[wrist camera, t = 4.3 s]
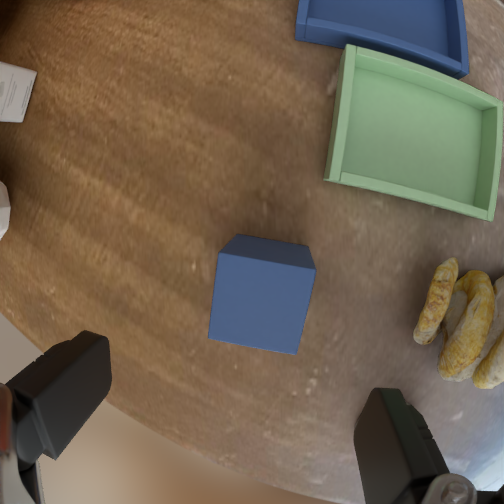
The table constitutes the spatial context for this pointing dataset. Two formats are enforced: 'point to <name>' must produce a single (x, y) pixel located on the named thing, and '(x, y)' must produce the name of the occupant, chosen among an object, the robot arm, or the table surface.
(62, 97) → the table surface
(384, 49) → the blue tray
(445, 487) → the robot arm
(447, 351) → the seashell
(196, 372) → the table surface
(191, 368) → the table surface
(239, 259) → the blue block
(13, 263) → the table surface
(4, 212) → the toy car
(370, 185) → the green tray
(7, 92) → the ink box
